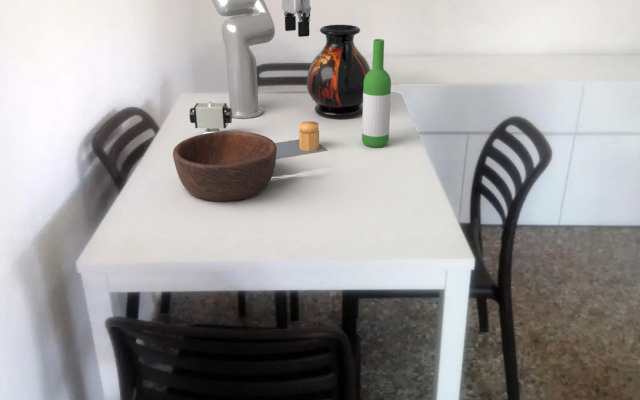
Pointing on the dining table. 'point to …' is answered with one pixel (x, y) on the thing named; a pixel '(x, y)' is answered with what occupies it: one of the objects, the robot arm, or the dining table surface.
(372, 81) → the wine bottle
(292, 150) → the board
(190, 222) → the dining table surface
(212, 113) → the pneumatic valve
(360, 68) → the black vase
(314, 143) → the orange dome-topped faceted piece
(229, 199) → the wooden bowl
